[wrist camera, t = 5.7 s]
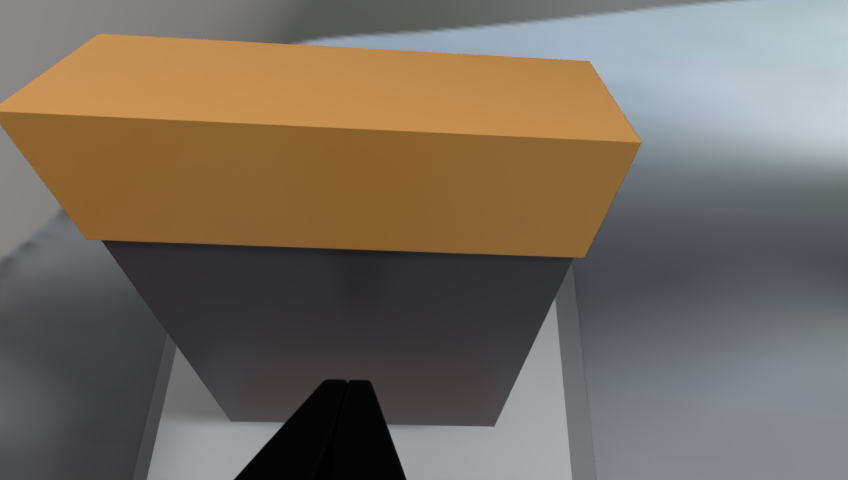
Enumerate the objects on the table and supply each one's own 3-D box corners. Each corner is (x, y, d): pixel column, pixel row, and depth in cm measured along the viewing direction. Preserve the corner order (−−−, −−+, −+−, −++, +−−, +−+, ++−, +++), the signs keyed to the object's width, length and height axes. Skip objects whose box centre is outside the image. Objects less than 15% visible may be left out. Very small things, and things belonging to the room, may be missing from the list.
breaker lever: (498, 430, 11) (641, 143, 5) (225, 425, 11) (-10, 111, 5) (489, 355, 13) (589, 60, 6) (249, 349, 13) (99, 33, 6)
